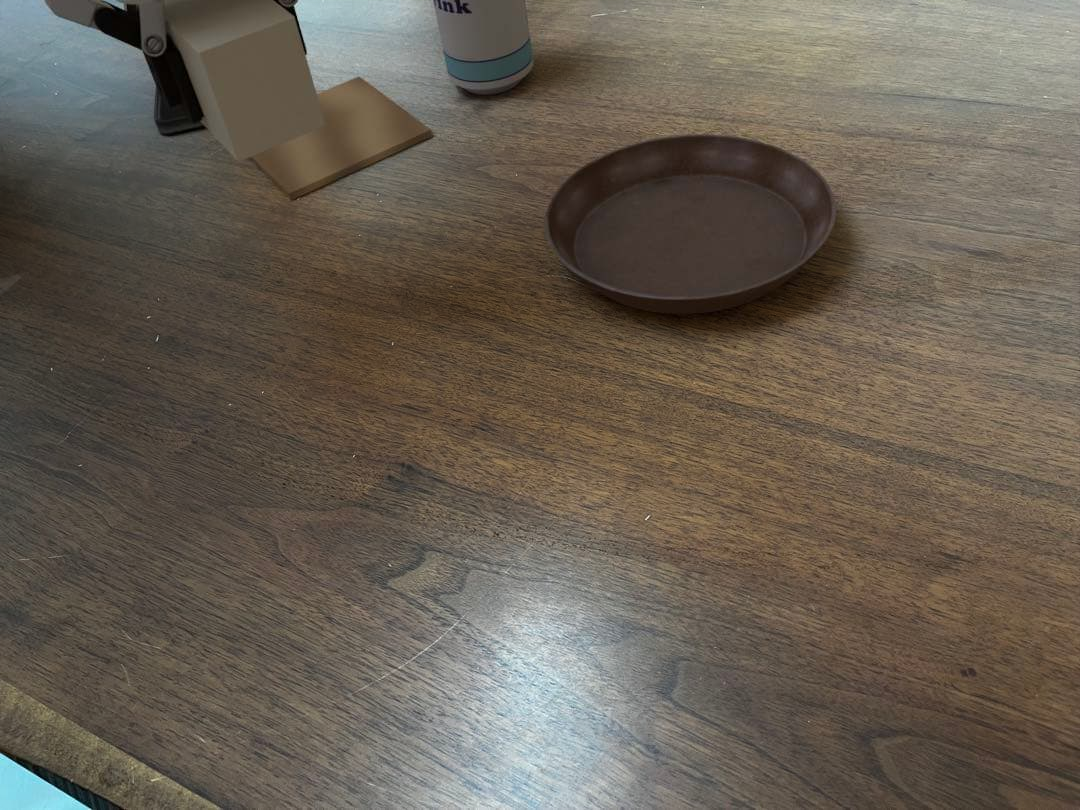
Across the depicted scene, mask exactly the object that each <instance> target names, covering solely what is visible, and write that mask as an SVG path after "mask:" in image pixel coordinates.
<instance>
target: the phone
mask: <svg viewBox="0 0 1080 810" xmlns="http://www.w3.org/2000/svg"><path fill="white" fill-rule="evenodd" d="M154 93H155V95H154V106H153V107H154V108H153V122H154V124H155V126H156V128H157V130H158V133H160V134H161V135H173V134H178V133H183V132H188V131H191V130H196V129H200V128H206V127H205V126H204V125H203V123H202V122H201V121H199V122H197V123H194V124H193V123H192V122H191V121H190V120H189V119H188V118H187V117H186V116H185V115H184V114H183V112H182V111H181V110H180V109H179V108H178V107H177V106H174V107H171V108H168V107H167V106H166V104H165V103H164V102H163V100H162V98H161V96H160V94H159V92H158V89H157V87H156V86H155V92H154Z"/></svg>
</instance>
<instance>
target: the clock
mask: <svg viewBox="0 0 1080 810" xmlns="http://www.w3.org/2000/svg"><path fill="white" fill-rule="evenodd" d="M164 6H165V24H166V34H167V35H168V37H169V39H170V42H171V43H172V44H173V45H174V46H175V47H176V48H177V49H178V51H179V52H180V54H181V56H182V59H183V61H184V64H185V67H186V69H187V72H188V75H189V77H190V80H191V83H192V85H193V88H194V91H195V93H196V96H197V99H198V101H199V104H200V107H201V109H202V112H203V115H204V117H202V121H201V122H202V123H203V125H204V126H205V127H204V128H205V129H207V130H208V131H209V132H210V134H211V135H212V136H213V137H214V138H215V139H216V140H217V141H218V142H219V143H220V144H221V146H222V147H223V148H225V150H226V151H227V152H228V153H229V154H230V155H231V156H232V158H234V159H235V161H237V163H240V162H243V161H245V160H247V159H249V158H250V157H252V156H254V155H257V154H259V153H262V152H264V151H266V150H269V149H271V148H273V147H276V146H278V145H281V144H283V143H285V142H288V141H290V140H293V139H295V138H297V137H300V136H302V135H305V134H307V133H309V132H312V131H314V130H317V129H319V128H321V127H324V126H325V121H324V118H323V114H322V111H321V107H320V104H319V100H318V97H317V94H318V93H317V91H316V87H315V84H314V79H313V77H312V73H311V69H310V66H309V63H308V59H307V55H305V52H304V48H303V45H302V41H301V38H300V35H299V31H298V28H297V24H296V21H295V17H294V16H293V15H292V14H290V13H289V12H288V11H286V10H285V9H284V8H283V7H281V6H280V5H279V4H277V3H276V2H275V1H274V0H164Z"/></svg>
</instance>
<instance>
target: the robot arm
mask: <svg viewBox="0 0 1080 810" xmlns="http://www.w3.org/2000/svg"><path fill="white" fill-rule="evenodd" d="M115 1H116V2H117V3H121V4H123V8H121V7H119V6H117V5H115V4H112V3H110V2H108V1H106V0H44V3H45V5H46V6H47V7H48V9H49V10H50V11H51V12H52V13H53V14H54V15H55V16H56V17H58V18H61V19H64V20H66V21H69V22H73V23H75V24H78V25H80V26H84V27H87V28H91V29H94V30H96V31H100V32H101V33H103V34H104V35H106V36H109V37H111V38H113V39H116V40H117V41H120V42H122V43H124V44H126V45H129V46H131V47H133V48H135V49H137V50H140V51H142V54H143V56H144V60H145V61H146V64H147V67H148V69H149V72H150V74H151V76H152V79H153V81H154V84H155V88H156V87H157V89H158V92H159V94H160V96H161V98H162V100H163V102H164V103H165V104H166V106H167V107H168V108H171V107H174V106H177V107H178V108H179V109H180V110H181V111H182V112H183V114H184V115H185V116H186V117H187V118H188V119H189V120H190V121H191V122H192V123H193V124H194V123H197V122H199V121H202V117H204V115H203V112H202V109H201V107H200V104H199V101H198V99H197V96H196V93H195V91H194V88H193V85H192V83H191V80H190V77H189V75H188V72H187V69H186V67H185V64H184V61H183V59H182V56H181V54H180V52H179V51H178V49H177V48H176V47H175V46H174V45H173V44H172V43H171V42H170V39H169V37H168V35H167V34H166V24H165V6H164V0H115ZM274 1H275V2H276V3H277V4H279V5H280V6H281V7H283V8H284V9H285V10H286V11H288V12H289V13H290V14H292V15H293V16H294V17H295V21H296V24H297V28H298V31H299V35H300V38H301V41H302V45H303V48H304V52H305V55H306V56H307V54H308V49H307V46H306V43H305V39H304V36H303V32H302V29H301V25H300V22H299V18H298V15H297V11H296V8H295V6H296V4H297V3H298V2H299V0H274Z"/></svg>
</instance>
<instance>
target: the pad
mask: <svg viewBox="0 0 1080 810" xmlns="http://www.w3.org/2000/svg"><path fill="white" fill-rule="evenodd" d="M316 94H317V97H318V100H319V104H320V107H321V111H322V114H323V118H324V121H325V126H324V127H321V128H319V129H317V130H314V131H312V132H309V133H307V134H305V135H302V136H300V137H297V138H295V139H293V140H290V141H288V142H285V143H283V144H281V145H278V146H276V147H273V148H271V149H269V150H266V151H264V152H262V153H259V154H257V155H254V156H252V157H250V158H248V159H249V160H250V161H251V162H252V163H253V164H254V165H255V166H256V167H257V168H258V169H259V170H260V171H261V172H262V173H263V174H264V175H265V176H266V177H267V178H268V179H269V180H270V181H271V182H272V183H273V184H274V185H275V186H277V188H278V189H279V190H280V191H281V192H283V194H284V195H286V197H287V198H288V199H290V201H293V200H295V199H297V198H300V197H301V196H304V195H306V194H308V193H311V192H313V191H315V190H317V189H320V188H322V187H324V186H326V185H328V184H331V183H333V182H335V181H338V180H339V179H341V178H344V177H345V176H349V175H350V174H353V173H354V172H357V171H360V170H362V169H364V168H366V167H368V166H370V165H373V164H374V163H377V162H379V161H381V160H383V159H386V158H388V157H390V156H392V155H395V154H396V153H399V152H402V151H403V150H405V149H408V148H410V147H412V146H415V145H416V144H419V143H421V142H423V141H426V140H427V139H429V138H431V137H433V132H432V129H431V128H430V127H429V126H427V125H425V123H423V122H421V121H420V120H419V119H417V117H415V116H414V115H412V114H410V113H409V112H408V111H407V110H406V109H404V108H402V106H400V105H398V103H396V102H395V101H394V100H392V99H391V98H389V97H388V96H387V95H386V94H384V93H382V92H381V91H380V90H379V89H377V88H376V87H374V85H372V84H370V83H369V82H368V81H366V80H365V79H364V78H362V77H361V76H357V77H353V78H352V79H349V80H347V81H344V82H342V83H340V84H337V85H335V86H332V87H330V88H328V89H326V90H323V91H321V92H318V93H316Z"/></svg>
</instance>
